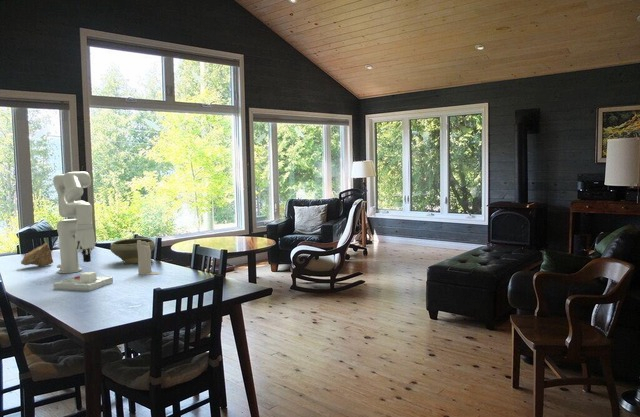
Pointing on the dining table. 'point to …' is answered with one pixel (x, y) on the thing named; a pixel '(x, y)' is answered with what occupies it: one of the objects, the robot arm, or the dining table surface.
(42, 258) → the stone
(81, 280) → the plug
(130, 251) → the bowl
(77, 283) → the socket plate
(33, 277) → the dining table surface
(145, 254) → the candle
